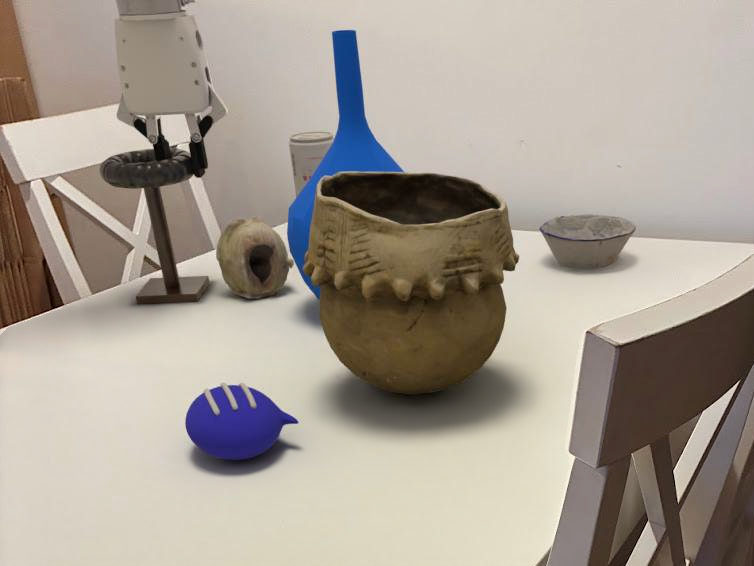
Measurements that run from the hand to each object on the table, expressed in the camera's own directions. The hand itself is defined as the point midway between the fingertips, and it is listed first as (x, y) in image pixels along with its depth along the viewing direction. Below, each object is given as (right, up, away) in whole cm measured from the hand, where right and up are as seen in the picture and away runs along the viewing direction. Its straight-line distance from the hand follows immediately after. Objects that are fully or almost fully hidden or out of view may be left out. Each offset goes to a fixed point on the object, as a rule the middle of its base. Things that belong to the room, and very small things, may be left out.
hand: (184, 174), depth 124 cm
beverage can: (+14, +1, +26) cm, 29 cm away
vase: (+23, -16, +1) cm, 28 cm away
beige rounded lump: (+8, -12, +8) cm, 17 cm away
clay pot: (+31, -32, -21) cm, 49 cm away
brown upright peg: (-4, -12, +9) cm, 15 cm away
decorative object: (+15, -40, -31) cm, 53 cm away
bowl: (+52, -6, +14) cm, 54 cm away
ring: (-4, +1, -1) cm, 4 cm away
